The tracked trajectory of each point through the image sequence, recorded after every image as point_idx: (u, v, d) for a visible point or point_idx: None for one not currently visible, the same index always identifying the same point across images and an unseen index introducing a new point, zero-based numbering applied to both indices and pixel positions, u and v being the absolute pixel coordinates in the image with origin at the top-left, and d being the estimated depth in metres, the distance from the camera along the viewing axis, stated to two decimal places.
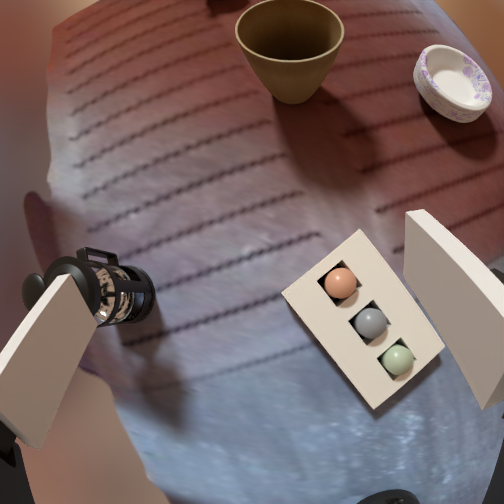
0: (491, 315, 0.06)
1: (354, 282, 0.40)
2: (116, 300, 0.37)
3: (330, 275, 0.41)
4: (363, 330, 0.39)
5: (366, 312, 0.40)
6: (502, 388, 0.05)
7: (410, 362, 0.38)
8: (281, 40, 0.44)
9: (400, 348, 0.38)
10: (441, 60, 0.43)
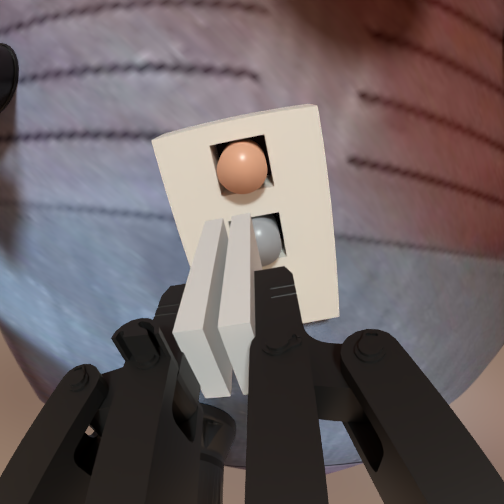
0: None
1: (261, 179, 0.25)
2: None
3: (230, 151, 0.24)
4: None
5: (257, 228, 0.27)
6: None
7: None
8: None
9: None
10: None
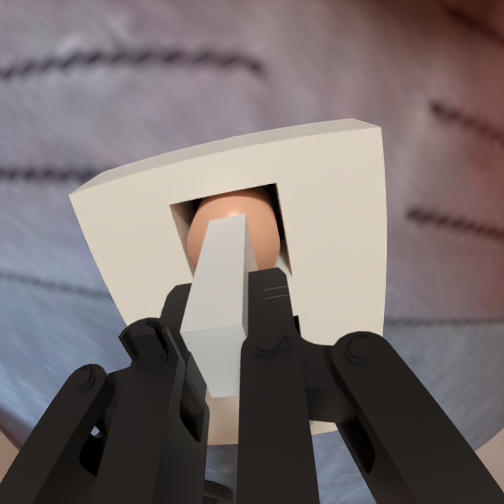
0: None
1: (269, 261, 0.14)
2: None
3: (210, 212, 0.13)
4: None
5: None
6: None
7: None
8: None
9: None
10: None
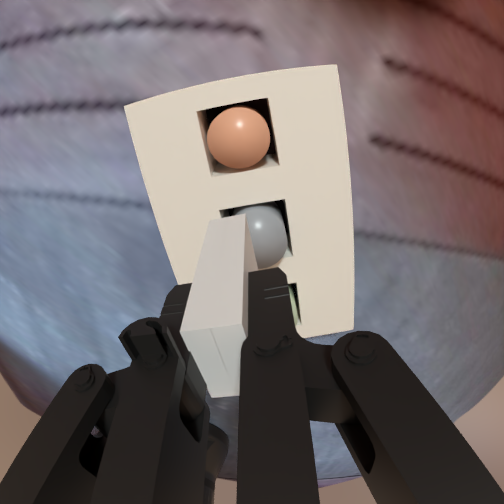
0: None
1: (262, 150, 0.20)
2: None
3: (224, 114, 0.19)
4: None
5: (256, 219, 0.21)
6: None
7: None
8: None
9: None
10: None
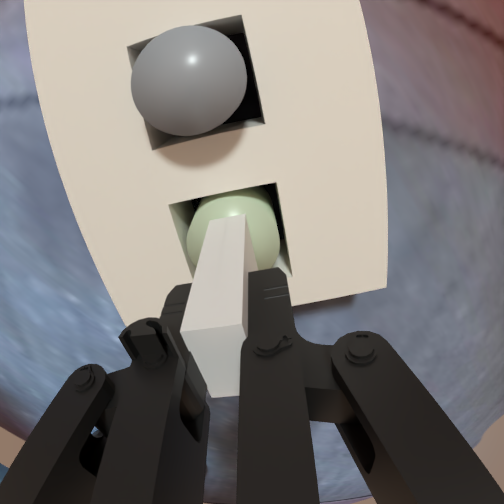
0: None
1: None
2: None
3: None
4: (144, 87, 0.09)
5: (182, 30, 0.08)
6: None
7: (262, 266, 0.14)
8: None
9: (249, 207, 0.13)
10: None
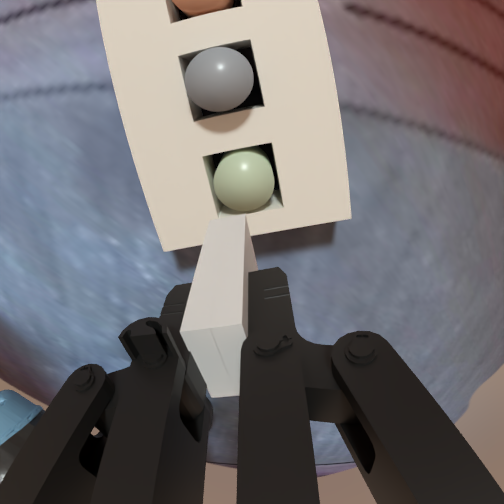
0: None
1: None
2: None
3: None
4: (192, 82, 0.16)
5: (216, 50, 0.15)
6: None
7: (263, 198, 0.21)
8: None
9: (254, 157, 0.20)
10: None
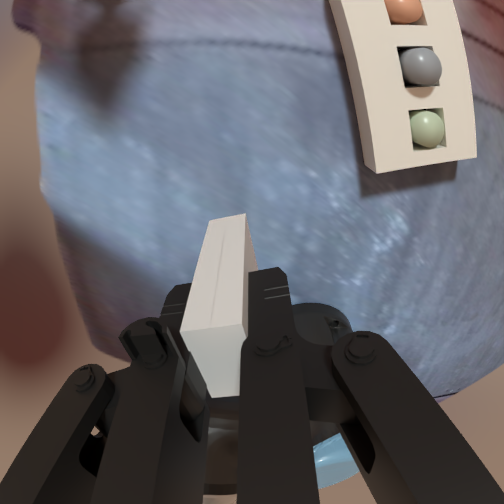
0: None
1: (419, 14, 0.22)
2: None
3: None
4: (413, 64, 0.24)
5: (424, 49, 0.23)
6: None
7: (438, 140, 0.29)
8: None
9: (435, 115, 0.27)
10: None
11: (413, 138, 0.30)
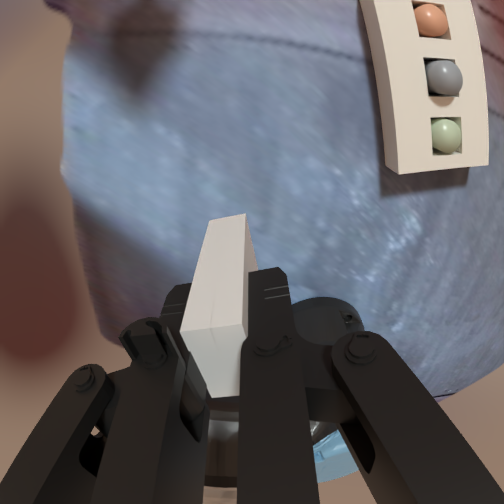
0: None
1: (444, 29, 0.23)
2: None
3: (426, 5, 0.22)
4: (438, 75, 0.25)
5: (448, 62, 0.24)
6: None
7: (455, 146, 0.30)
8: None
9: (454, 123, 0.29)
10: None
11: (433, 143, 0.31)
